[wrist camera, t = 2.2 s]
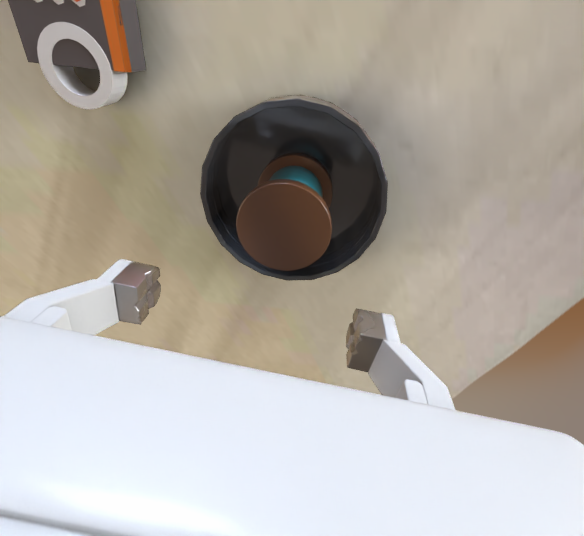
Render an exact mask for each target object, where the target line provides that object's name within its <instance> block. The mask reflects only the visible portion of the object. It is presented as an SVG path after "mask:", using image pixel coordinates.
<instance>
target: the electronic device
mask: <svg viewBox="0 0 584 536" xmlns="http://www.w3.org/2000/svg"><path fill="white" fill-rule="evenodd" d="M8 2H9V5H10V8H11V11H12V14H13V17H14V20H15V23H16V26H17V29H18V32H19V35H20V38H21V41H22V44H23V47H24V50H25V53H26V56H27V59H28V62H33V63H39V64H40V67H41V69H42V72H43V74H44V76H45V78H46V79H47V81H48V83H49V84H50V85H51V87H52V88H53V89H54V90H55V91H56V93H57V94H58V95H59V96H61V97H62V98H63V99H64V100H65V101H67V102H68V103H70V104H72V105H74V106H76V107H79V108H82V109H96V108H99V107H103V106H106V105H110V104H113V103H115V102H117V101H119V100H120V98H121V97H122V96H123V94H124V93H125V90H126V87H127V72H137V71H143V70H146V66H145V59H144V53H143V46H142V40H141V33H140V27H139V20H138V14H137V7H136V1H135V0H8ZM73 67H80V68H90V69H99V71H100V85H99V88H98V90H97V91H93V90H91V89H89V88H88V87H86V86H85V85H84V84H83V83H82V82H81V81H80V80H79V78H78V77H77V75H76V73H75V71H74V69H73Z"/></svg>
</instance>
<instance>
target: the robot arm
mask: <svg viewBox="0 0 584 536" xmlns="http://www.w3.org/2000/svg"><path fill="white" fill-rule="evenodd" d="M159 277H160V269H159V268H158V267H156V266H152V265H147V264H143V263H139V262H133V261H129V260H125V259H119V260H118V261H117V262H116V263H114V264H113V265H112V266H111V267H110V268H109V269H108V270H107V271H105V272H104V273H103V274H102V275H101V276H100V277H99V278H98V279H97V280H94V279H91V280H88V281H84V282H81V283H78V284H75V285H71V286H68V287H65V288H61V289H58V290H55V291H51V292H48V293H45V294H42V295H38V296H35V297H32V298H28V299H26V300H24V301H23V302H22V303H20V304H19V305H18V306H16V307H15V308H14V309H12V310H11V311H10V312H8V313H7V314H6V315H4V316H0V536H584V445H583V444H581V443H580V442H579V441H577V440H576V439H574V438H573V437H571V436H569V435H567V434H564V433H561V432H558V431H553V430H549V429H544V428H539V427H534V426H529V425H524V424H519V423H514V422H509V421H505V420H500V419H495V418H490V417H485V416H480V415H476V414H471V413H466V412H461V411H456V410H455V408H454V405H453V402H452V399H451V396H450V393H449V390H448V388H447V386H446V385H445V384H444V383H443V382H442V381H441V380H440V379H439V378H438V377H437V376H436V375H435V374H434V373H433V372H432V371H431V370H430V369H429V368H428V367H427V366H426V365H425V364H424V363H423V362H422V361H421V360H420V359H419V358H418V357H417V356H416V355H415V354H414V353H413V352H412V351H411V350H410V349H409V348H408V347H407V346H406V345H405V344H402V343H400V339H399V335H398V331H397V327H396V323H395V319H394V316H393V315H390V314H384V313H376V312H371V311H367V310H362V309H357V308H356V309H355V311H354V314H353V322H352V323H351V324H350V325H349V328H348V331H347V336H346V347H347V348H348V352H347V368H351V369H356V370H360V371H364V372H368V374H369V376H370V377H371V379H372V381H373V382H374V384H375V385H376V387H377V388H378V390H379V391H380V393H381V394H382V395H379V394H374V393H369V392H365V391H360V390H355V389H350V388H345V387H340V386H336V385H331V384H326V383H321V382H316V381H311V380H307V379H302V378H297V377H292V376H287V375H283V374H278V373H273V372H268V371H263V370H258V369H254V368H249V367H244V366H239V365H234V364H229V363H224V362H220V361H215V360H210V359H205V358H200V357H196V356H191V355H186V354H181V353H176V352H172V351H167V350H162V349H157V348H152V347H147V346H143V345H138V344H133V343H128V342H123V341H119V340H114V339H109V338H104V337H99V336H94V335H96V334H98V333H99V332H101V331H103V330H105V329H107V328H109V327H110V326H112V325H114V324H116V323H118V322H119V321H123V322H129V323H134V324H140V325H141V323H142V322H143V321H144V319H145V318H146V317H147V315H148V314H149V308H152V307H154V306H155V305H156V303H157V302H158V299H159V297H160V292H161V285H160V283H159V282H158V281H157V279H158V278H159Z"/></svg>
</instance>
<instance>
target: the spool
mask: <svg viewBox="0 0 584 536" xmlns="http://www.w3.org/2000/svg"><path fill="white" fill-rule="evenodd" d="M332 192H333V189H332V182H331V178H330V176H329V174H328V172H327V170H326V169H325V167H324V166H323V165H322V164H321V163H320V162H319V161H318V160H316V159H314V158H313V157H311V156H309V155H306V154H302V153H287V154H284V155H281V156H279V157H277V158H275V159H274V160H272V161H271V162H270V163H269V164H268V165H267V166H266V168H265V169H264V170H263V172H262V174H261V176H260V178H259V181H258V186H257V187H255V188H254V189H253V190H251V192H250V193H249V194H248V195H247V196H246V198H245V199H244V200H243V202H242V204H241V206H240V208H239V210H238V213H237V218H236V228H237V234H238V237H239V240H240V242H241V244H242V246H243V247H244V249H245V250H246V252H247V253H248V254H249V255H250V256H251V257H252V258H253V259H255V260H256V261H257V262H259V263H261V264H263V265H264V266H267V267H269V268H273V269H276V270H285V271H289V270H297V269H301V268H304V267H307V266H309V265H311V264H312V263H314V262H315V261H316V260H318V259H319V258H320V257H321V256H322V255H323V253H324V252H325V251H326V249H327V247H328V245H329V242H330V239H331V234H332V219H331V214H330V211H329V207H330V204H331V201H332Z"/></svg>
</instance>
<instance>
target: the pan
mask: <svg viewBox="0 0 584 536" xmlns="http://www.w3.org/2000/svg"><path fill="white" fill-rule="evenodd" d="M287 153H302V154H306V155H309V156H311V157H313V158H314V159H316V160H318V161H319V162H320V163H321V164H322V165H323V166H324V167H325V169H326V170H327V172H328V174H329V176H330V178H331V182H332V189H333V192H332V201H331V204H330V207H329V211H330V214H331V219H332V234H331V239H330V242H329V245H328V247H327V249H326V251H325V252H324V253H323V255H322V256H321V257H320V258H319V259H318V260H316V261H315V262H314V263H312V264H311V265H309V266H307V267H304V268H301V269H297V270H289V271H285V270H276V269H273V268H269V267H267V266H264V265H263V264H261V263H259V262H257V261H256V260H255V259H253V258H252V257H251V256H250V255H249V254H248V253H247V252H246V250H245V249H244V247H243V246H242V244H241V242H240V240H239V237H238V234H237V228H236V218H237V213H238V210H239V208H240V206H241V204H242V202H243V200H244V199H245V198H246V196H247V195H248V194H249V193H250V192H251V190H253V189H254V188H255V187H257V186H258V181H259V178H260V176H261V174H262V172H263V170H264V169H265V168H266V166H267V165H268V164H269V163H270V162H271V161H272V160H274V159H275V158H277V157H279V156H281V155H284V154H287ZM387 188H388V183H387V178H386V175H385V172H384V168H383V165H382V161H381V158H380V155H379V152H378V150H377V148H376V146H375V144H374V142H373V141H372V140H371V138H370V137H369V136H368V134H367V133H366V131H365V130H364V129H363V127H362V126H361V125H360V123H359V122H358V120H357V119H355V118H354V117H352V116H351V115H350V114H349V113H347V112H346V111H344V110H343V109H341V108H340V107H338V106H336V105H335V104H333V103H331V102H328V101H325V100H322V99H319V98H315V97H309V96H305V95H289V96H282V97H275V98H270V99H268V100H266V101H264V102H262V103H260V104H258V105H256V106H254V107H252V108H250V109H248V110H246V111H244V112H242V113H240V114H238V115H236V116H235V117H234V118H233V119H232V120H231V121H230V122H229V123H228V124H227V125H226V126H225V127H224V128H223V129H222V131H221V132H220V133H219V134H218V135H217V136H216V137H215V138H214V140H213V141H212V144H211V146H210V149H209V151H208V153H207V156H206V158H205V161H204V163H203V165H202V176H201V192H200V195H201V199H202V203H203V207H204V211H205V215H206V219H207V222H208V224H209V225H210V227H211V229H212V230H213V232H214V234H215V235H216V237H217V239H218V240H219V242H220V244H221V245H222V246H223V247H224V248H225V249H226V250H227V251H229V252H230V253H231V254H232V255H233V256H234V257H235V258H236V259H237V260H238V261H239V262H240V263H242V264H244V265H246V266H248V267H250V268H252V269H253V270H255V271H257V272H259V273H261V274H263V275H267V276H271V277H275V278H280V279H284V280H312V279H317V278H320V277H323V276H327V275H330V274H333V273H336V272H338V271H340V270H341V269H343V268H345V267H346V266H348V265H349V264H351V263H352V262H354V261H355V260H357V259H358V258H359V257H360V256H361V255H362V254H363V253H364V251H365V250H366V249H367V248H368V247H369V245H370V244H371V243H372V242H373V241H374V240H375V238H376V236H377V234H378V231H379V229H380V226H381V224H382V221H383V219H384V216H385V214H386V207H387Z"/></svg>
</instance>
